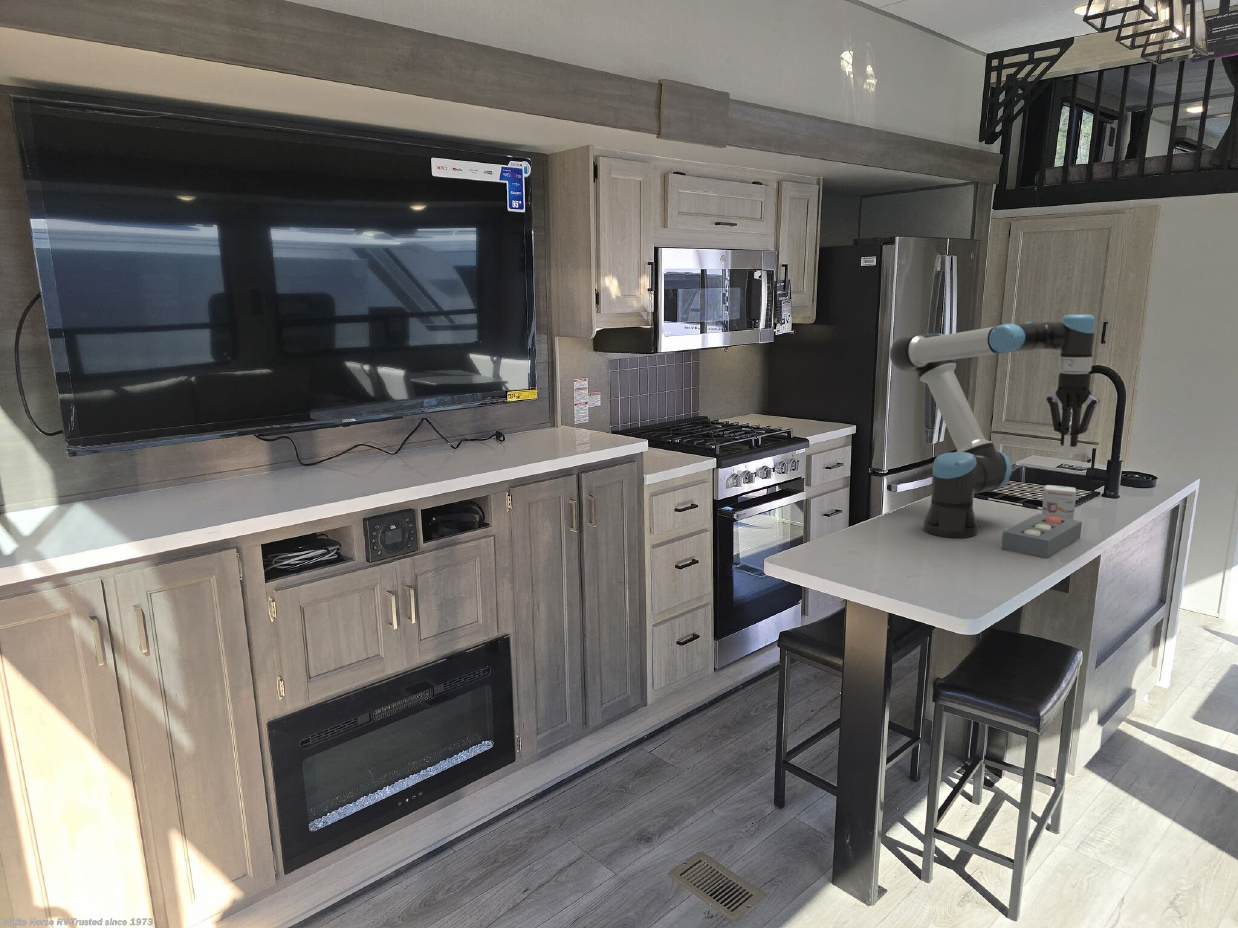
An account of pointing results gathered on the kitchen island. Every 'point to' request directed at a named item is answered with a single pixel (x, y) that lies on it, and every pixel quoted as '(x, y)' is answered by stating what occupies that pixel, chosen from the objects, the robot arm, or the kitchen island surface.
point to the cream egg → (1043, 526)
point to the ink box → (1059, 501)
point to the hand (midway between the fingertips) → (1067, 457)
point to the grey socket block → (1041, 536)
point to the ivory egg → (1032, 532)
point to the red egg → (1053, 519)
